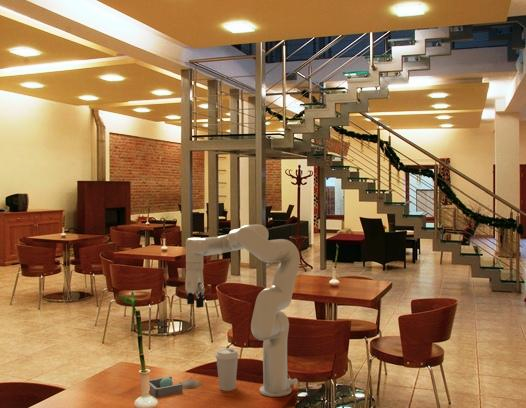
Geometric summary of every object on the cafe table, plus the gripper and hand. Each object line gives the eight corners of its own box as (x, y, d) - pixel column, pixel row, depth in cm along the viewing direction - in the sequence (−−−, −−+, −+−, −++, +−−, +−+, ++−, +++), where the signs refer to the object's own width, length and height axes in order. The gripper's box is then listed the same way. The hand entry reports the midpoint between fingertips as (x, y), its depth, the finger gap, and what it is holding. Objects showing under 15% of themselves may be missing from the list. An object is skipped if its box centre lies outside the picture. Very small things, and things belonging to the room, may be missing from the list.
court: (171, 383, 225) (170, 376, 225) (182, 391, 214) (182, 384, 214) (145, 388, 219) (145, 380, 219) (155, 397, 209) (155, 389, 209)
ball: (169, 373, 220) (171, 385, 221) (157, 377, 218) (159, 389, 218) (173, 378, 216) (175, 389, 216) (161, 382, 213) (163, 394, 214)
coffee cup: (238, 392, 213) (238, 353, 213) (214, 392, 213) (214, 354, 213) (239, 384, 223) (239, 347, 223) (216, 384, 223) (216, 348, 223)
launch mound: (199, 405, 232) (198, 372, 232) (213, 416, 220) (213, 381, 220) (168, 412, 225) (167, 378, 225) (181, 423, 213) (180, 387, 213)
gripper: (179, 265, 241) (179, 303, 240) (194, 268, 226) (195, 309, 226) (194, 263, 244) (195, 301, 244) (211, 267, 230) (211, 307, 229)
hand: (195, 305), depth 235 cm, fingers open, 9 cm apart
